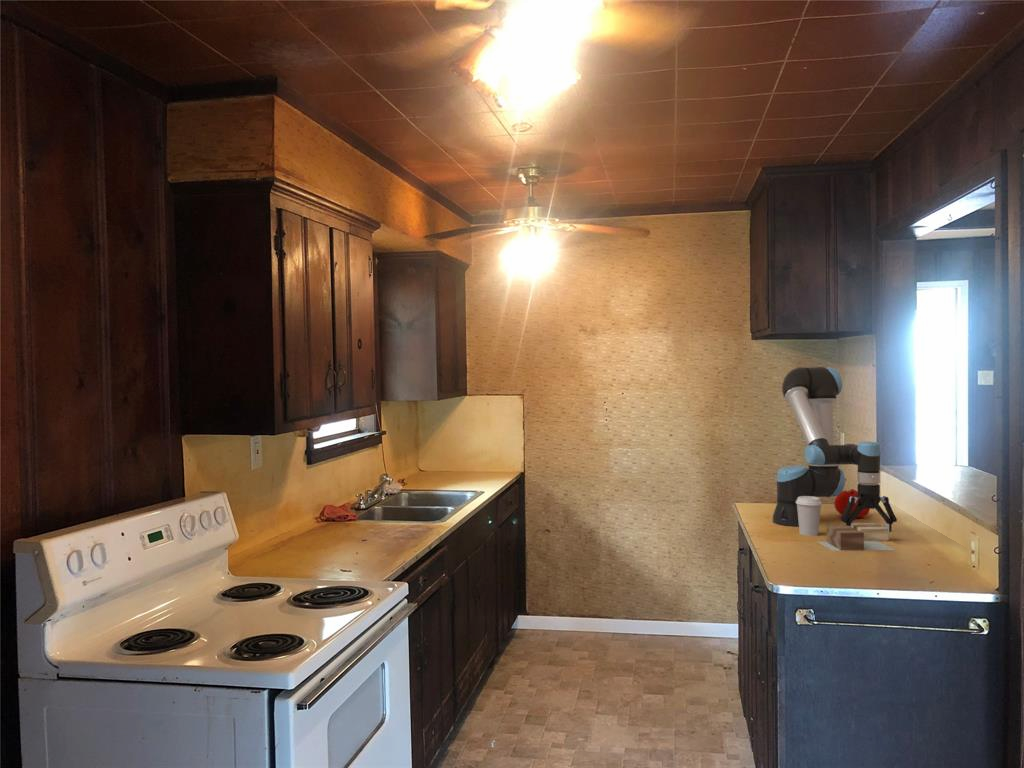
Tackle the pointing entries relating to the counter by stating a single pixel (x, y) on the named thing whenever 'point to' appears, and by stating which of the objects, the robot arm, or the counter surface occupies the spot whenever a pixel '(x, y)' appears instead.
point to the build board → (867, 546)
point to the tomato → (843, 500)
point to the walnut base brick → (845, 538)
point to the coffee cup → (808, 515)
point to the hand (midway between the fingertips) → (868, 541)
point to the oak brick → (872, 531)
